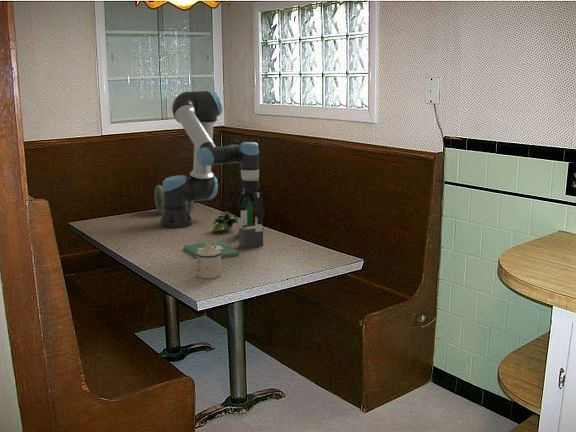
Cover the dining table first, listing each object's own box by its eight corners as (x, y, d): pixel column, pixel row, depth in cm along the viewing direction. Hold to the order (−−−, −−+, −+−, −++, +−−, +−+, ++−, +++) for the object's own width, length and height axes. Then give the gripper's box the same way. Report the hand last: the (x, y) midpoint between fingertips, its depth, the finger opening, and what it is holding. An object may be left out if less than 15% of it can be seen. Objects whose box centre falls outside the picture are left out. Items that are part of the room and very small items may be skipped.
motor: (259, 236, 291) (258, 193, 286) (240, 235, 293) (239, 192, 288) (264, 231, 301) (263, 189, 296) (245, 230, 302) (245, 188, 298)
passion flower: (225, 240, 305) (237, 218, 307) (233, 242, 295) (245, 219, 297) (206, 229, 300) (218, 207, 303) (213, 230, 291) (225, 207, 293)
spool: (164, 216, 329) (162, 188, 326) (155, 211, 342) (153, 183, 338) (194, 213, 337) (193, 185, 333) (184, 207, 350) (183, 180, 346)
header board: (183, 249, 272) (183, 239, 270) (218, 243, 279) (217, 233, 278) (202, 261, 255) (202, 250, 254) (238, 255, 263) (238, 244, 262)
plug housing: (239, 245, 276) (238, 227, 275) (257, 242, 281) (257, 224, 279) (244, 248, 272) (244, 229, 270) (263, 245, 277) (262, 227, 275)
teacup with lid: (214, 269, 245) (213, 240, 242) (226, 276, 237) (225, 245, 235) (185, 275, 238) (184, 245, 235) (197, 282, 231) (196, 251, 228)
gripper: (272, 182, 261) (273, 232, 266) (244, 174, 282) (245, 221, 287) (256, 184, 257) (257, 235, 262) (229, 176, 278) (230, 223, 283)
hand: (251, 228), depth 274 cm, fingers open, 13 cm apart
